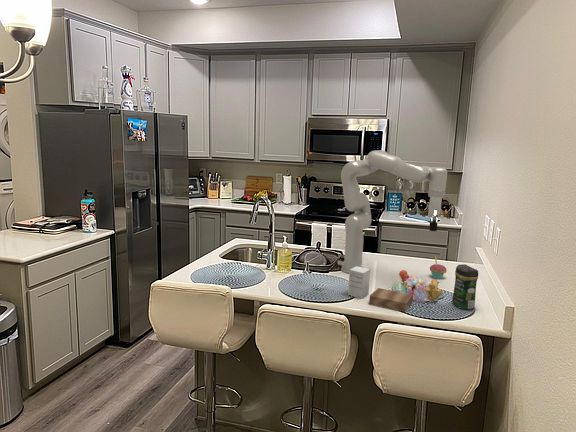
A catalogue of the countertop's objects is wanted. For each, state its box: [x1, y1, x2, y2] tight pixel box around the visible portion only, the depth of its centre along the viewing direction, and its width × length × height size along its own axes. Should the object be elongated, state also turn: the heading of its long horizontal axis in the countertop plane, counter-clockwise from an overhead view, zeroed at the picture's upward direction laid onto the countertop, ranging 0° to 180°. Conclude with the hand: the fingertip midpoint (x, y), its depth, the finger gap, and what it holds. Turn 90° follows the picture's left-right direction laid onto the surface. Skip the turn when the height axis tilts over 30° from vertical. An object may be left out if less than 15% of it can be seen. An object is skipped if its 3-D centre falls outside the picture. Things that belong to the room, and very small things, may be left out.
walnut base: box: [368, 287, 413, 313], centre depth 196 cm, size 16×12×4 cm
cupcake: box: [429, 255, 448, 280], centre depth 235 cm, size 9×8×12 cm
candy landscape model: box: [388, 269, 444, 303], centre depth 210 cm, size 25×24×9 cm
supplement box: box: [347, 266, 371, 300], centre depth 204 cm, size 7×7×13 cm
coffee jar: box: [451, 263, 479, 310], centre depth 195 cm, size 10×8×19 cm
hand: (432, 229), depth 213 cm, fingers open, 9 cm apart
